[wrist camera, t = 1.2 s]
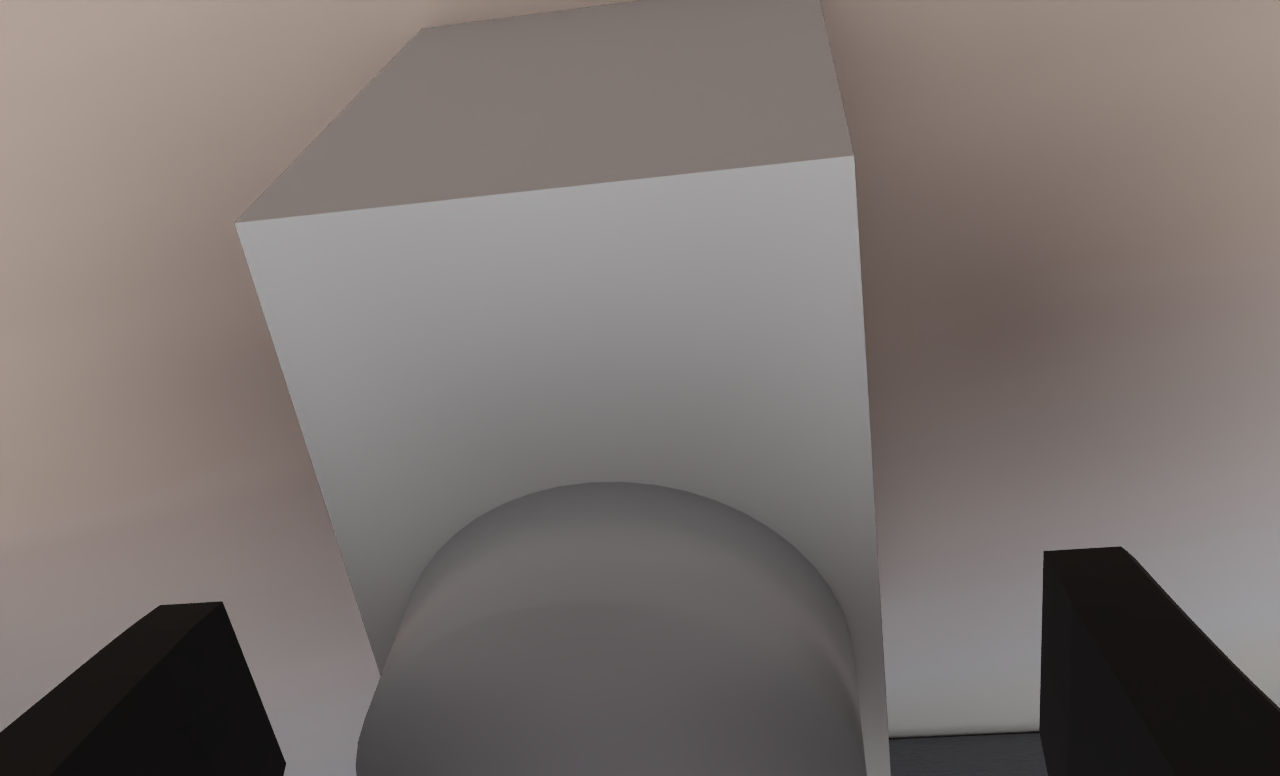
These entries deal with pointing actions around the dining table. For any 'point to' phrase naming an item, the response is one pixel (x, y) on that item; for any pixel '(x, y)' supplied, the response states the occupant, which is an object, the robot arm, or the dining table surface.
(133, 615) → the dining table surface
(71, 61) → the dining table surface
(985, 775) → the duct plate
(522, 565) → the grey block
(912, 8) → the dining table surface
